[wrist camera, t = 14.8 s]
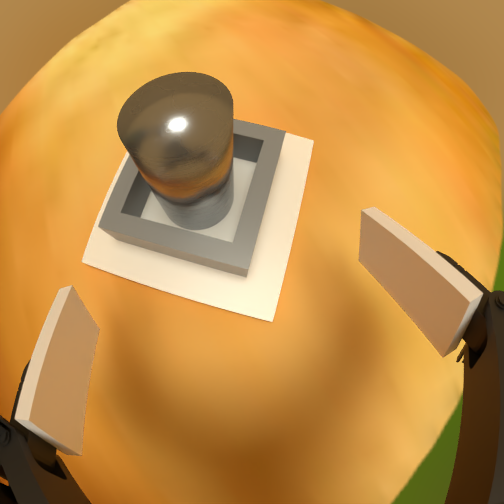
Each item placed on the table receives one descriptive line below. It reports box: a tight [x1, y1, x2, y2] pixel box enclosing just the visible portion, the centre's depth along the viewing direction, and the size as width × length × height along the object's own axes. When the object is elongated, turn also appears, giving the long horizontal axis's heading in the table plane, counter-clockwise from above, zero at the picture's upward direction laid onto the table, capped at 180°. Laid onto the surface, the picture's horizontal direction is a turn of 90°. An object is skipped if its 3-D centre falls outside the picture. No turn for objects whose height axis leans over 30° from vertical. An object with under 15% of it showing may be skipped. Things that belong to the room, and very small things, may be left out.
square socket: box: [82, 119, 314, 322], centre depth 18 cm, size 14×14×4 cm
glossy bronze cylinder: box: [117, 72, 234, 230], centre depth 15 cm, size 5×5×9 cm
